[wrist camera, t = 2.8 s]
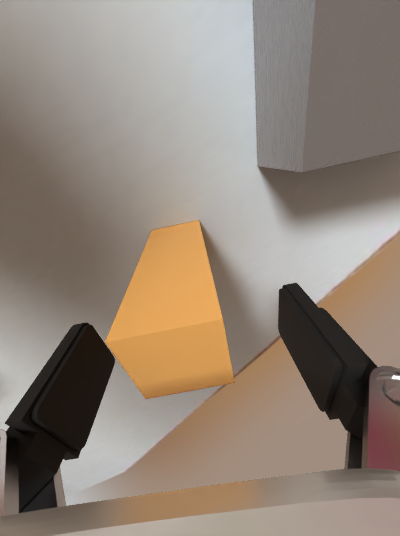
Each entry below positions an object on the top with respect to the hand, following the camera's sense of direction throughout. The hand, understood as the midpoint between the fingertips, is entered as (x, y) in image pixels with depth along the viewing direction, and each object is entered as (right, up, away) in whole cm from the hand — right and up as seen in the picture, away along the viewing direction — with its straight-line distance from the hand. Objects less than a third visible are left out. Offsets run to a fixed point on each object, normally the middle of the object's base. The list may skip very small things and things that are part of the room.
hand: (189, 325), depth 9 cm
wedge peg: (-1, +5, +7) cm, 9 cm away
